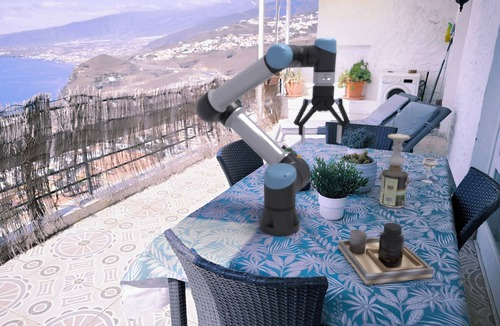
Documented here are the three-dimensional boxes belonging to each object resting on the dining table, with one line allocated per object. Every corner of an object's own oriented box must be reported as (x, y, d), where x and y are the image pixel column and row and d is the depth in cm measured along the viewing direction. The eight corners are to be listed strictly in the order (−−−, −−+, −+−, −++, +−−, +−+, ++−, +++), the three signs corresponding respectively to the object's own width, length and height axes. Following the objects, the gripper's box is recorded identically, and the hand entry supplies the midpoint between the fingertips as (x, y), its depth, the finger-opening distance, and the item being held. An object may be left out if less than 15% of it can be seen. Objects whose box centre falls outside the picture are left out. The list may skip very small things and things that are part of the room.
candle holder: (399, 177, 179) (404, 133, 172) (409, 184, 169) (415, 137, 162) (379, 177, 179) (383, 133, 172) (388, 184, 168) (393, 138, 162)
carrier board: (366, 284, 93) (368, 261, 91) (338, 247, 112) (339, 227, 110) (432, 277, 95) (435, 255, 93) (394, 242, 114) (396, 223, 112)
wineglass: (431, 179, 175) (434, 157, 172) (437, 183, 168) (440, 160, 165) (417, 179, 176) (420, 157, 172) (422, 183, 169) (426, 160, 166)
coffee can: (401, 199, 150) (405, 169, 146) (406, 209, 140) (410, 177, 136) (377, 198, 152) (380, 168, 148) (381, 207, 142) (384, 176, 138)
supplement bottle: (381, 253, 106) (385, 218, 102) (404, 260, 102) (408, 224, 98) (374, 263, 100) (377, 227, 97) (397, 271, 96) (402, 234, 93)
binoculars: (283, 180, 188) (296, 159, 180) (265, 164, 192) (277, 144, 184) (294, 173, 199) (307, 153, 191) (276, 158, 203) (288, 139, 196)
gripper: (290, 86, 114) (289, 146, 120) (362, 84, 115) (357, 144, 121) (286, 84, 121) (285, 141, 127) (353, 83, 123) (349, 140, 129)
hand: (320, 143), depth 124 cm, fingers open, 13 cm apart
